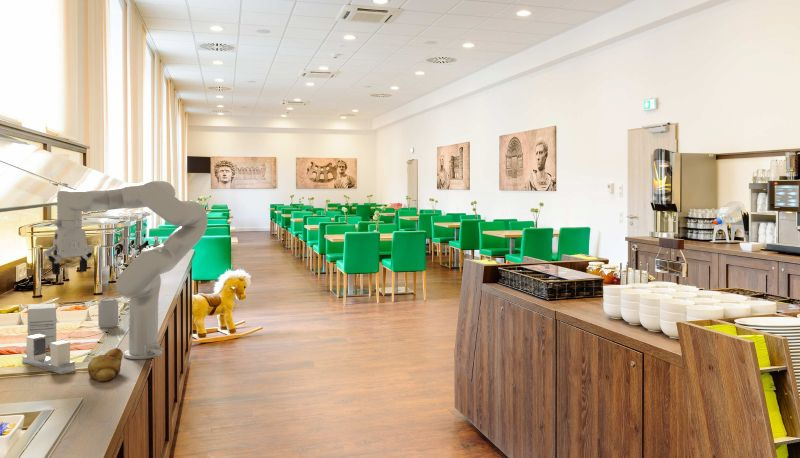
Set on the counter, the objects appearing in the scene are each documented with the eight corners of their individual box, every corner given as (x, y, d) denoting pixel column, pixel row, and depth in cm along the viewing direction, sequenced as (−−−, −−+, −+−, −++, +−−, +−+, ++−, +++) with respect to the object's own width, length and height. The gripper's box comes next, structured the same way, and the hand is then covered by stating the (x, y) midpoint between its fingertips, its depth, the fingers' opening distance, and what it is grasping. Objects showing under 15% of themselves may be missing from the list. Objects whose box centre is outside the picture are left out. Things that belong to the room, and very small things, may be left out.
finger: (70, 363, 189) (69, 342, 189) (57, 366, 186) (57, 344, 185) (61, 360, 191) (61, 339, 191) (49, 363, 188) (49, 342, 187)
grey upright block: (94, 327, 242) (94, 299, 242) (109, 324, 249) (109, 296, 249) (107, 330, 240) (107, 301, 239) (122, 326, 247) (122, 298, 246)
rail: (75, 370, 188) (75, 343, 187) (61, 374, 184) (61, 346, 184) (36, 358, 199) (36, 332, 198) (22, 362, 195) (22, 335, 194)
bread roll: (117, 382, 179) (117, 357, 178) (82, 385, 176) (82, 359, 175) (123, 370, 191) (123, 345, 190) (90, 371, 188) (90, 347, 187)
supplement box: (28, 344, 216) (27, 304, 215) (56, 341, 220) (56, 302, 219) (27, 350, 208) (26, 309, 207) (56, 347, 212) (56, 307, 211)
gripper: (51, 226, 196) (51, 276, 198) (99, 224, 211) (99, 271, 213) (38, 225, 200) (38, 274, 201) (86, 223, 215) (86, 269, 216)
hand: (69, 272), depth 207 cm, fingers open, 9 cm apart
